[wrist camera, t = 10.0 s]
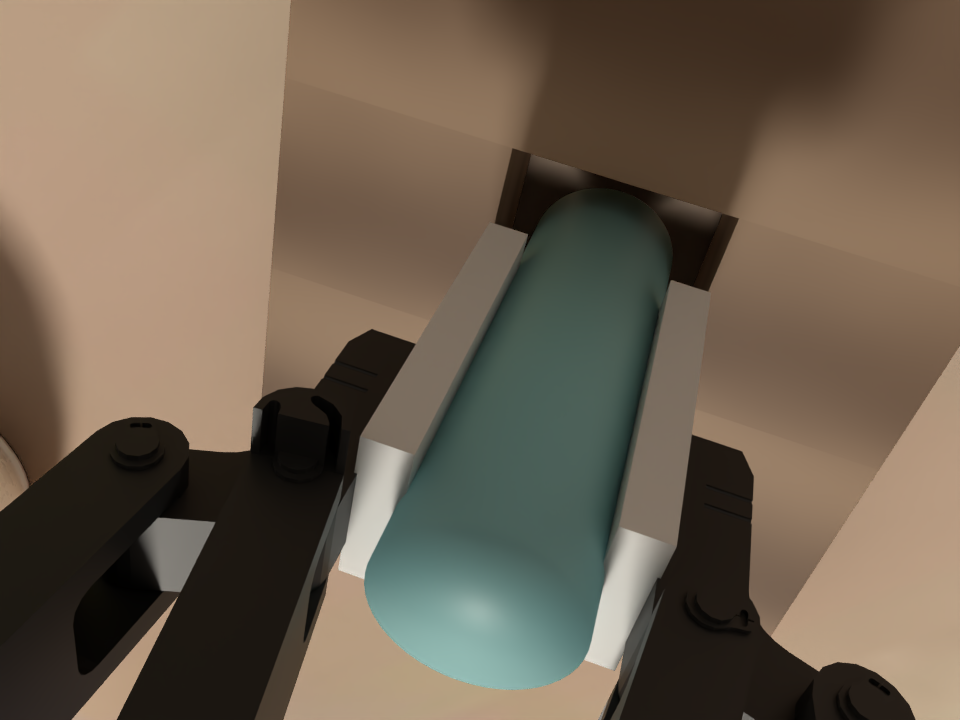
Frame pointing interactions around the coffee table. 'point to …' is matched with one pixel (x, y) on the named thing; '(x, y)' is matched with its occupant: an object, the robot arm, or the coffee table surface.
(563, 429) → the peg
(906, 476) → the coffee table surface
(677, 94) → the hole block
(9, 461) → the lidded jar
